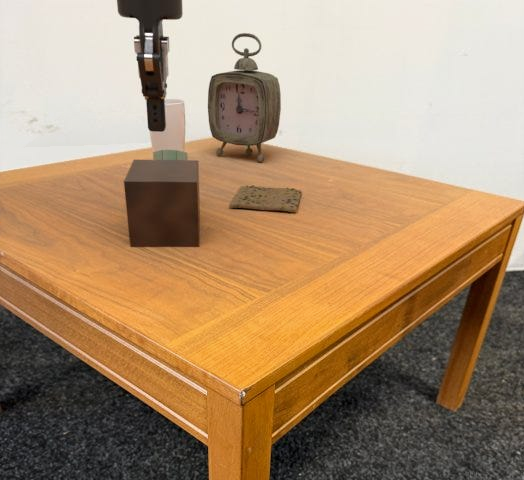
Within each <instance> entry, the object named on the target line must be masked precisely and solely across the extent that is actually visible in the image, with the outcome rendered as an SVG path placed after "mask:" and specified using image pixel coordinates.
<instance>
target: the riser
mask: <svg viewBox="0 0 524 480" xmlns="http://www.w3.org/2000/svg"><path fill="white" fill-rule="evenodd" d="M199 162H200V161H199V160H197V159H196V160H195V159H193V160H192V159H190V160H153V159H133V160H132V163H131V164H130V167H129V169H128V171H127V174H126V176H125V178H124V180H123V186H124V187H123V188H124V199H125V207H126V216H127V217H126V219H127V227H128V236H129V244H130V245H129V246H130V247H200V237H201V236H200V235H201V234H200V233H201V202H200V201H201V197H200V196H201V195H200V168H199V167H200V166H199V165H200V163H199Z"/></svg>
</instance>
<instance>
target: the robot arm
mask: <svg viewBox="0 0 524 480" xmlns="http://www.w3.org/2000/svg"><path fill="white" fill-rule="evenodd" d="M116 6H117V14H118V15H119V16H120V17H122V18H127V19H136V20H137V21H138V24H139V25H138V35H137V34H136V36H133V46H134V53H135V54H136V56H135V57H136V62H137V69H138V77H139V79H140V85H141V94H142V97H144V100H145V102H146V105H145V106H146V117H147V118H146V119H147V129H148V131H149V130H150V131H155V132H163V131H164V130H165V128H166V117H165V98H167V88H168V83H167V79H168V77H169V73H170V71H169V52H170V51H171V49H170V48H171V46H170V36H164V29H163V27H164V26H163V21H164V20H165V21H166V20H167V21H175V20H176V21H177V20H180V19H182V17H183V13H184V12H183V0H116ZM150 131H149V132H150Z"/></svg>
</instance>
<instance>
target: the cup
mask: <svg viewBox="0 0 524 480" xmlns="http://www.w3.org/2000/svg"><path fill="white" fill-rule="evenodd" d="M152 160H188V153H187V152H186V151H184V152H182V151H178V150H160V151H155V152H153V151H152Z"/></svg>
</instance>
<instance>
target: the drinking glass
mask: <svg viewBox="0 0 524 480" xmlns="http://www.w3.org/2000/svg"><path fill="white" fill-rule="evenodd" d="M185 107H186V106H185V100H183V99H180V98H171V97H166V98H165V117H166V128H165V130H164V131H163V132H155V131H150V130H149V129H148V131H149V137H150V143H151V151H152V153H153V152H155V151H160V150H178V151H182V152H186V151H185V147H186V108H185Z"/></svg>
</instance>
